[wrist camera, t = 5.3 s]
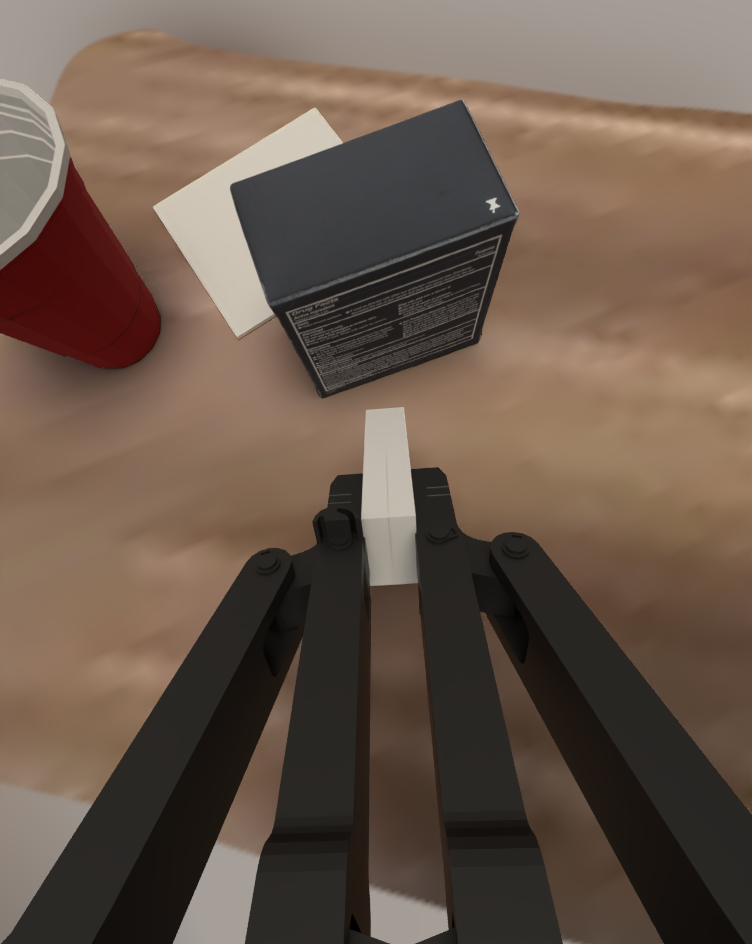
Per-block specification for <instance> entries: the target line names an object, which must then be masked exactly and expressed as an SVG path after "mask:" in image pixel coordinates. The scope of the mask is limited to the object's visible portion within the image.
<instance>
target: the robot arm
mask: <svg viewBox="0 0 752 944" xmlns="http://www.w3.org/2000/svg"><path fill="white" fill-rule="evenodd" d="M313 527H314V531H315V536H316V540H317V544H316V545H315V546H314V547H312V548H311V549H309V550H307V551H304V552H302V553H298V554H295V555H292V556H290V554H289V553H287V552H286V551H285V550H282V549H279V548H268V549H265V550H262V551H259V552H258V553H256V554H254V555H253V556H252V557H251V558H250V559H249V560H248V561H247V562H246V564H245V565H244V567H243V568H242V570H241V572H240V573H239V575H238V576H237V578H236V580H235V581H234V583H233V584H232V586H231V587H230V589H229V591H228V592H227V594H226V595H225V597H224V598H223V600H222V602H221V603H220V605H219V606H218V608H217V609H216V611H215V613H214V614H213V616H212V617H211V619H210V620H209V622H208V624H207V625H206V627H205V628H204V630H203V631H202V633H201V635H200V636H199V638H198V639H197V641H196V643H195V644H194V646H193V647H192V649H191V650H190V652H189V654H188V655H187V657H186V658H185V660H184V661H183V663H182V665H181V666H180V668H179V669H178V671H177V672H176V674H175V676H174V677H173V679H172V680H171V682H170V683H169V685H168V687H167V688H166V690H165V691H164V693H163V695H162V696H161V698H160V699H159V701H158V702H157V704H156V706H155V707H154V709H153V710H152V712H151V713H150V715H149V717H148V718H147V720H146V721H145V723H144V724H143V726H142V728H141V729H140V731H139V732H138V734H137V735H136V737H135V739H134V740H133V742H132V743H131V745H130V746H129V748H128V750H127V751H126V753H125V754H124V756H123V758H122V759H121V761H120V762H119V764H118V765H117V767H116V769H115V770H114V772H113V773H112V775H111V776H110V778H109V780H108V781H107V783H106V784H105V786H104V787H103V789H102V791H101V792H100V794H99V795H98V797H97V798H96V800H95V802H94V803H93V805H92V806H91V808H90V810H89V811H88V813H87V814H86V816H85V817H84V819H83V821H82V822H81V824H80V825H79V827H78V828H77V830H76V832H75V833H74V835H73V836H72V838H71V839H70V841H69V843H68V844H67V846H66V848H65V849H64V851H63V852H62V854H61V855H60V857H59V858H58V860H57V861H56V863H55V865H54V866H53V868H52V870H51V871H50V873H49V874H48V876H47V877H46V879H45V880H44V882H43V884H42V885H41V887H40V888H39V890H38V891H37V893H36V895H35V896H34V898H33V899H32V901H31V902H30V904H29V906H28V907H27V909H26V910H25V912H24V913H23V915H22V917H21V918H20V920H19V922H18V923H17V924H16V926H15V928H14V929H13V931H12V933H11V934H10V935H9V936H8V937H7V938H6V939H5V940H4V941H3V942H2V943H1V944H173V941H174V939H175V937H176V934H177V932H178V929H179V927H180V925H181V922H182V920H183V918H184V915H185V913H186V910H187V908H188V906H189V904H190V901H191V899H192V896H193V894H194V892H195V889H196V887H197V885H198V882H199V880H200V878H201V875H202V873H203V871H204V868H205V866H206V863H207V861H208V859H209V856H210V854H211V852H212V849H213V847H214V845H215V842H216V840H217V838H218V835H219V833H220V830H221V828H222V826H223V823H224V821H225V819H226V816H227V814H228V812H229V809H230V807H231V804H232V802H233V800H234V797H235V795H236V793H237V790H238V788H239V786H240V783H241V781H242V779H243V776H244V774H245V771H246V769H247V767H248V764H249V762H250V760H251V757H252V755H253V753H254V750H255V748H256V745H257V743H258V741H259V738H260V736H261V734H262V731H263V729H264V727H265V724H266V722H267V720H268V717H269V715H270V712H271V710H272V708H273V705H274V703H275V701H276V698H277V696H278V694H279V691H280V689H281V686H282V684H283V682H284V679H285V677H286V675H287V672H288V670H289V668H290V665H291V663H292V661H293V658H294V656H295V653H296V651H297V649H298V646H299V644H300V642H301V639H302V637H303V640H302V647H301V653H300V660H299V666H298V673H297V679H296V686H295V692H294V699H293V705H292V712H291V719H290V725H289V732H288V738H287V745H286V751H285V758H284V764H283V771H282V778H281V784H280V791H279V797H278V804H277V810H276V817H275V822H274V827H273V830H272V833H271V835H270V836H269V838H268V839H267V841H266V842H265V844H264V846H263V849H262V852H261V855H260V860H259V864H258V869H257V874H256V881H255V886H254V892H253V899H252V904H251V910H250V916H249V922H248V928H247V934H246V940H245V944H389V943H386V942H383V941H381V940H378V939H375V938H373V937H371V934H370V933H371V929H370V928H371V923H370V922H371V919H370V918H371V916H370V895H369V876H368V857H369V759H370V660H371V596H370V586H378V585H395V584H413V583H418V589H419V610H420V615H421V626H422V636H423V647H424V658H425V669H426V680H427V691H428V701H429V712H430V723H431V734H432V745H433V756H434V766H435V777H436V788H437V799H438V810H439V821H440V831H441V842H442V853H443V864H444V876H445V889H446V903H447V916H448V927H449V930H448V931H445V932H443V933H440V934H438V935H436V936H433V937H431V938H428V939H426V940H424V941H421V942H419V943H416V944H563V943H562V938H561V934H560V930H559V926H558V921H557V917H556V913H555V909H554V904H553V900H552V896H551V892H550V887H549V883H548V879H547V875H546V870H545V866H544V862H543V859H542V855H541V851H540V848H539V845H538V842H537V839H536V836H535V834H534V833H533V831H532V830H531V828H530V827H529V824H528V821H527V818H526V814H525V810H524V806H523V801H522V797H521V792H520V788H519V783H518V779H517V775H516V770H515V766H514V761H513V757H512V752H511V748H510V743H509V739H508V735H507V730H506V726H505V721H504V717H503V712H502V708H501V703H500V699H499V694H498V690H497V686H496V681H495V677H494V672H493V668H492V663H491V659H490V654H489V650H488V645H487V641H486V637H485V632H484V628H483V623H482V619H481V614H480V612H484V613H486V614H487V617H488V619H489V621H490V623H491V625H492V627H493V629H494V630H495V632H496V634H497V636H498V638H499V640H500V641H501V643H502V645H503V647H504V649H505V651H506V653H507V654H508V656H509V658H510V660H511V662H512V664H513V665H514V667H515V669H516V671H517V673H518V675H519V677H520V678H521V680H522V682H523V684H524V686H525V688H526V690H527V691H528V693H529V695H530V697H531V699H532V701H533V702H534V704H535V706H536V708H537V710H538V712H539V714H540V715H541V717H542V719H543V721H544V723H545V725H546V727H547V728H548V730H549V732H550V734H551V736H552V738H553V739H554V741H555V743H556V745H557V747H558V749H559V751H560V752H561V754H562V756H563V758H564V760H565V762H566V763H567V765H568V767H569V769H570V771H571V773H572V775H573V776H574V778H575V780H576V782H577V784H578V786H579V788H580V789H581V791H582V793H583V795H584V797H585V799H586V800H587V802H588V804H589V806H590V808H591V810H592V812H593V813H594V815H595V817H596V819H597V821H598V823H599V824H600V826H601V828H602V830H603V832H604V834H605V836H606V837H607V839H608V841H609V843H610V845H611V847H612V849H613V850H614V852H615V854H616V856H617V858H618V860H619V861H620V863H621V865H622V867H623V869H624V871H625V873H626V874H627V876H628V878H629V880H630V882H631V884H632V886H633V887H634V889H635V891H636V893H637V895H638V897H639V898H640V900H641V902H642V904H643V906H644V908H645V910H646V911H647V913H648V915H649V917H650V919H651V921H652V922H653V924H654V926H655V928H656V930H657V932H658V934H659V935H660V937H661V939H662V941H663V943H664V944H752V815H751V814H750V812H749V811H748V810H747V808H746V807H745V806H744V805H743V803H742V802H741V801H740V800H739V798H738V797H737V796H736V795H735V793H734V792H733V791H732V789H731V788H730V787H729V786H728V784H727V783H726V782H725V781H724V779H723V778H722V777H721V775H720V774H719V773H718V772H717V770H716V769H715V768H714V767H713V765H712V764H711V763H710V761H709V760H708V759H707V758H706V756H705V755H704V754H703V753H702V751H701V750H700V749H699V747H698V746H697V745H696V744H695V742H694V741H693V740H692V739H691V737H690V736H689V735H688V733H687V732H686V731H685V730H684V728H683V727H682V726H681V725H680V723H679V722H678V721H677V719H676V718H675V717H674V716H673V714H672V713H671V712H670V711H669V709H668V708H667V707H666V705H665V704H664V703H663V702H662V700H661V699H660V698H659V697H658V695H657V694H656V693H655V692H654V690H653V689H652V688H651V686H650V685H649V684H648V683H647V681H646V680H645V679H644V678H643V676H642V675H641V674H640V672H639V671H638V670H637V669H636V667H635V666H634V665H633V664H632V662H631V661H630V660H629V658H628V657H627V656H626V655H625V653H624V652H623V651H622V650H621V648H620V647H619V646H618V644H617V643H616V642H615V641H614V639H613V638H612V637H611V636H610V634H609V633H608V632H607V630H606V629H605V628H604V627H603V625H602V624H601V623H600V622H599V620H598V619H597V618H596V616H595V615H594V614H593V613H592V611H591V610H590V609H589V608H588V606H587V605H586V604H585V602H584V601H583V600H582V599H581V597H580V596H579V595H578V594H577V592H576V591H575V590H574V589H573V587H572V586H571V585H570V583H569V582H568V581H567V580H566V578H565V577H564V576H563V575H562V573H561V572H560V571H559V569H558V568H557V567H556V566H555V564H554V563H553V562H552V561H551V559H550V558H549V557H548V555H547V554H546V553H545V552H544V550H543V549H542V548H541V547H540V545H539V544H538V543H537V542H536V541H535V540H534V539H532V538H531V537H529V536H527V535H525V534H522V533H516V532H509V533H503V534H500V535H498V536H496V537H495V538H494V539H493V540H492V542H487V541H481V540H477V539H473V538H471V537H469V536H467V535H466V534H464V533H463V532H462V531H461V530H460V528H458V525H457V522H456V518H455V513H454V509H453V504H452V500H451V495H450V491H449V487H448V482H447V477H446V475H445V474H444V473H443V472H442V471H441V470H440V469H439V468H438V467H436V468H421V469H411V468H410V459H409V450H408V441H407V432H406V422H405V413H404V407H397V408H385V409H372V410H366V421H365V443H364V466H363V474H349V475H338V476H337V477H336V478H335V480H334V481H333V482H332V484H331V486H330V493H329V500H328V507H327V508H326V509H324V510H321V511H320V512H319V513H318V514H317V515H316V516H315V518H314V520H313Z"/></svg>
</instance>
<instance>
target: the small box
mask: <svg viewBox="0 0 752 944" xmlns="http://www.w3.org/2000/svg"><path fill="white" fill-rule="evenodd" d="M230 192H231V195H232V199H233V202H234V206H235V209H236V212H237V215H238V218H239V221H240V224H241V228H242V231H243V234H244V237H245V240H246V242H247V245H248V248H249V251H250V254H251V257H252V260H253V263H254V266H255V269H256V272H257V275H258V278H259V281H260V284H261V287H262V289H263V292H264V295H265V299H266V301H267V303H268V305H269V307H270V308H271V310H272V311H273V313H274V314H275V316H276V317H277V318H278V319H279V321H280V323H281V325H282V327H283V328H284V330H285V331H286V333H287V335H288V337H289V339H290V340H291V342H292V345H293V346H294V349H295V350H296V352H297V354H298V356H299V357H300V359H301V361H302V363H303V365H304V366H305V368H306V370H307V371H308V374H309V376H310V377H311V379H312V381H313V382H314V384H315V387H316V390H317V393H318V395H319V396H320V397H322V398H324V397H326V396H329V395H332V394H335V393H338V392H340V391H344V390H347V389H349V388H352V387H355V386H358V385H360V384H363V383H366V382H369V381H372V380H375V379H377V378H380V377H383V376H386V375H389V374H391V373H394V372H397V371H400V370H402V369H405V368H408V367H411V366H413V365H417V364H419V363H422V362H425V361H428V360H430V359H433V358H436V357H439V356H442V355H444V354H447V353H450V352H453V351H455V350H458V349H460V348H463V347H466V346H469V345H471V344H474V343H478V342H479V340H480V337H481V335H482V328H483V324H484V320H485V317H486V314H487V311H488V308H489V305H490V301H491V298H492V295H493V292H494V288H495V286H496V282H497V279H498V276H499V272H500V269H501V266H502V263H503V259H504V256H505V254H506V249H507V246H508V243H509V241H510V237H511V233H512V231H513V228H514V226H515V224H516V222H517V220H518V217H519V213H520V212H519V209H518V208H517V206H516V203H515V202H514V200H513V198H512V196H511V194H510V193H509V191H508V188H507V186H506V184H505V182H504V180H503V178H502V176H501V174H500V171H499V169H498V168H497V166H496V164H495V162H494V160H493V158H492V156H491V154H490V151H489V149H488V147H487V145H486V144H485V141H484V139H483V137H482V135H481V133H480V131H479V129H478V127H477V125H476V123H475V121H474V119H473V117H472V115H471V113H470V111H469V109H468V107H467V105H466V103H465V101H463V100H458V101H456V102H453V103H451V104H447V105H445V106H443V107H440V108H437V109H434V110H432V111H429V112H426V113H423V114H421V115H418V116H416V117H413V118H410V119H408V120H405V121H402V122H400V123H397V124H394V125H391V126H389V127H386V128H383V129H381V130H378V131H375V132H372V133H370V134H367V135H364V136H361V137H359V138H356V139H353V140H350V141H348V142H345V143H342V144H339V145H337V146H334V147H331V148H329V149H326V150H323V151H321V152H318V153H315V154H312V155H310V156H307V157H304V158H301V159H299V160H296V161H293V162H290V163H288V164H285V165H282V166H279V167H277V168H274V169H271V170H268V171H265V172H263V173H260V174H257V175H254V176H252V177H249V178H246V179H243V180H240V181H237V182H234V183H232V184H231V185H230Z"/></svg>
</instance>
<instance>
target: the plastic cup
mask: <svg viewBox="0 0 752 944" xmlns="http://www.w3.org/2000/svg"><path fill="white" fill-rule="evenodd" d="M0 333H2V334H4V335H7V336H10V337H13V338H15V339H18V340H21V341H23V342H26V343H29V344H32V345H34V346H37V347H40V348H43V349H45V350H48V351H51V352H54V353H56V354H59V355H62V356H69V357H72V358H75V359H77V360H80V361H83V362H86V363H88V364H91V365H94V366H97V367H104V368H124V367H126V366H128V365H130V364H133V363H135V362H137V361H139V360H141V359H142V358H143V357H144V356H145V355H146V354H147V353H148V352H149V351H150V350H151V349H152V348H153V346H154V343H155V341H156V339H157V337H158V335H159V333H160V314H159V312H158V309H157V307H156V304H155V302H154V299H153V297H152V295H151V293H150V292H149V290H148V289H147V287H146V286H145V284H144V283H143V281H142V280H141V278H140V277H139V275H138V274H137V272H136V270H135V267H134V264H133V263H132V261H131V260H130V258H129V257H128V255H127V253H126V252H125V250H124V249H123V247H122V245H121V244H120V242H119V241H118V239H117V238H116V236H115V234H114V233H113V231H112V230H111V228H110V227H109V225H108V223H107V222H106V220H105V219H104V217H103V216H102V214H101V212H100V211H99V209H98V208H97V206H96V204H95V203H94V201H93V200H92V198H91V197H90V195H89V193H88V192H87V190H86V188H85V185H84V182H83V180H82V179H81V177H80V175H79V174H78V172H77V171H76V169H75V167H74V164H73V161H72V159H71V157H70V153H69V150H68V147H67V144H66V141H65V138H64V135H63V132H62V129H61V126H60V123H59V120H58V118H57V115H56V113H55V111H54V109H53V108H52V107H51V106H50V105H49V104H48V103H46V102H45V101H44V100H43V99H42V98H40V97H39V96H38V95H37V94H36V93H34V92H33V91H32V90H31V89H30V88H28V87H27V86H26V85H25V84H21V83H17V82H12V81H8V80H4V79H0Z"/></svg>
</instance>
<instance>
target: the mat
mask: <svg viewBox="0 0 752 944" xmlns="http://www.w3.org/2000/svg"><path fill="white" fill-rule="evenodd" d="M342 143H343V142H342V141H341V140H340V138H339V137H338V136H337V135H336V133H335V132H334V131H333V129H332V128H331V127H330V126H329V124H328V123H327V122H326V121H325V119H324V118H323V117H322V115H321V114H320V113H319V112H318V110H317V109H316V108H313V109H311V110H310V111H308V112H307V113H305V114H303V115H302V116H300V117H298V118H297V119H295V120H293V121H292V122H290V123H289V124H287V125H285V126H284V127H282V128H280V129H279V130H277V131H276V132H274V133H272V134H271V135H269V136H267V137H266V138H264V139H262V140H261V141H259V142H258V143H256V144H254V145H253V146H251V147H249V148H248V149H246V150H244V151H243V152H241V153H240V154H238V155H236V156H235V157H233V158H231V159H230V160H228V161H226V162H225V163H223V164H222V165H220V166H218V167H217V168H215V169H213V170H212V171H210V172H209V173H207V174H205V175H204V176H202V177H200V178H199V179H197V180H195V181H194V182H192V183H191V184H189V185H187V186H186V187H184V188H182V189H181V190H179V191H177V192H176V193H174V194H173V195H171V196H169V197H168V198H166V199H164V200H163V201H161V202H159V203H158V204H156V205H155V206H153V208H154V210H155V211H156V213H157V215H158V216H159V218H160V219H161V221H162V222H163V224H164V225H165V227H166V228H167V230H168V232H169V233H170V235H171V236H172V238H173V239H174V241H175V242H176V244H177V246H178V247H179V249H180V250H181V252H182V253H183V255H184V256H185V258H186V259H187V261H188V263H189V264H190V266H191V267H192V269H193V270H194V272H195V273H196V275H197V277H198V278H199V280H200V281H201V283H202V284H203V286H204V287H205V289H206V291H207V292H208V294H209V295H210V297H211V298H212V300H213V301H214V303H215V304H216V306H217V308H218V309H219V311H220V312H221V314H222V315H223V317H224V318H225V320H226V322H227V323H228V325H229V326H230V328H231V329H232V331H233V332H234V334H235V335H236V337H237V338H238V340H239V339H240V338H242V337H244V336H245V335H247V334H248V333H250V332H251V331H253V330H255V329H256V328H258V327H259V326H261V325H263V324H264V323H266V322H267V321H269V320H270V319H272V318H274V317H275V314H274V313H273V311H272V310H271V308H270V307H269V305H268V303H267V301H266V299H265V295H264V292H263V289H262V287H261V284H260V281H259V278H258V275H257V272H256V269H255V266H254V263H253V260H252V257H251V254H250V251H249V248H248V245H247V242H246V240H245V237H244V234H243V231H242V228H241V224H240V221H239V218H238V215H237V212H236V209H235V206H234V202H233V199H232V195H231V192H230V185H231V184H232V183H234V182H237V181H240V180H243V179H246V178H249V177H252V176H254V175H257V174H260V173H263V172H265V171H268V170H271V169H274V168H277V167H279V166H282V165H285V164H288V163H290V162H293V161H296V160H299V159H301V158H304V157H307V156H310V155H312V154H315V153H318V152H321V151H323V150H326V149H329V148H331V147H334V146H337V145H339V144H342Z"/></svg>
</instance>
